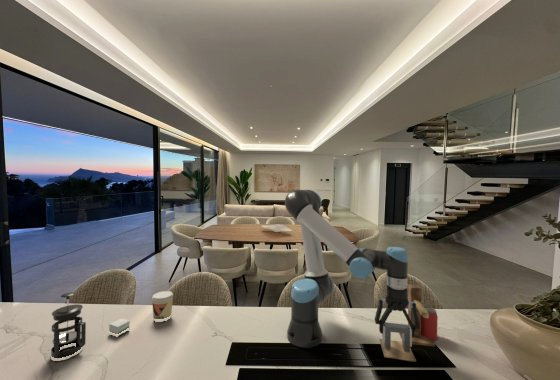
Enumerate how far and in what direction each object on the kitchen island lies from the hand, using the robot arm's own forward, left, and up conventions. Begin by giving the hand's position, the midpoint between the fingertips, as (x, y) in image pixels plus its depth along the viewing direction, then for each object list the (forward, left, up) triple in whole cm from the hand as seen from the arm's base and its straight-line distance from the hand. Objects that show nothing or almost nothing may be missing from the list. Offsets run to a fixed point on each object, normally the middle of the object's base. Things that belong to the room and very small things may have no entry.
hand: (396, 342), depth 97 cm
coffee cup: (-107, -2, -3) cm, 107 cm away
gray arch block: (0, 0, -2) cm, 2 cm away
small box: (-117, -16, -3) cm, 118 cm away
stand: (+10, +8, -3) cm, 13 cm away
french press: (-124, -32, -3) cm, 128 cm away
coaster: (0, 0, -3) cm, 3 cm away
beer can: (+16, +13, -3) cm, 21 cm away
